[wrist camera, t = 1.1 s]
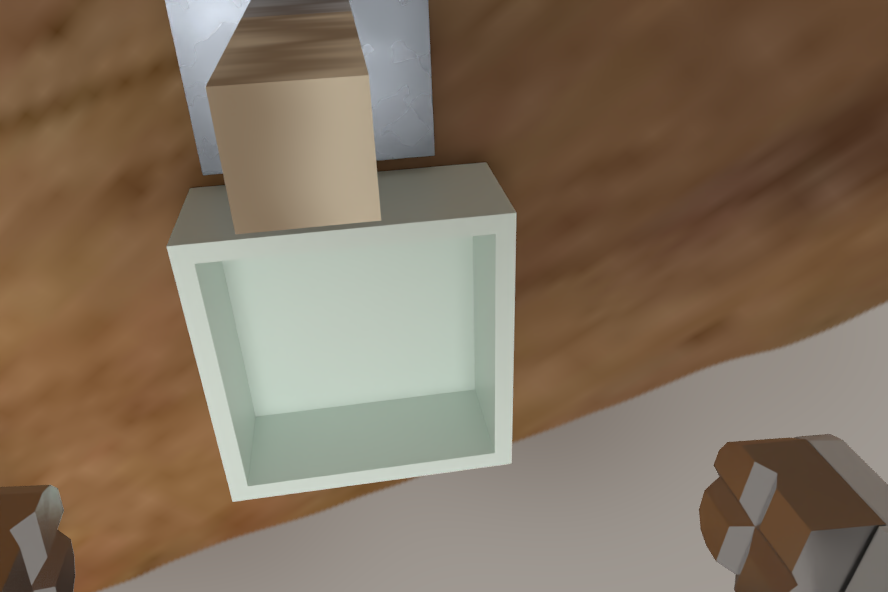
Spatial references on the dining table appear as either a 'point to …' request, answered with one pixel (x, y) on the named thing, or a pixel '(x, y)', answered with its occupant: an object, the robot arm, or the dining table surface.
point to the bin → (355, 334)
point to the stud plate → (385, 52)
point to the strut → (295, 118)
